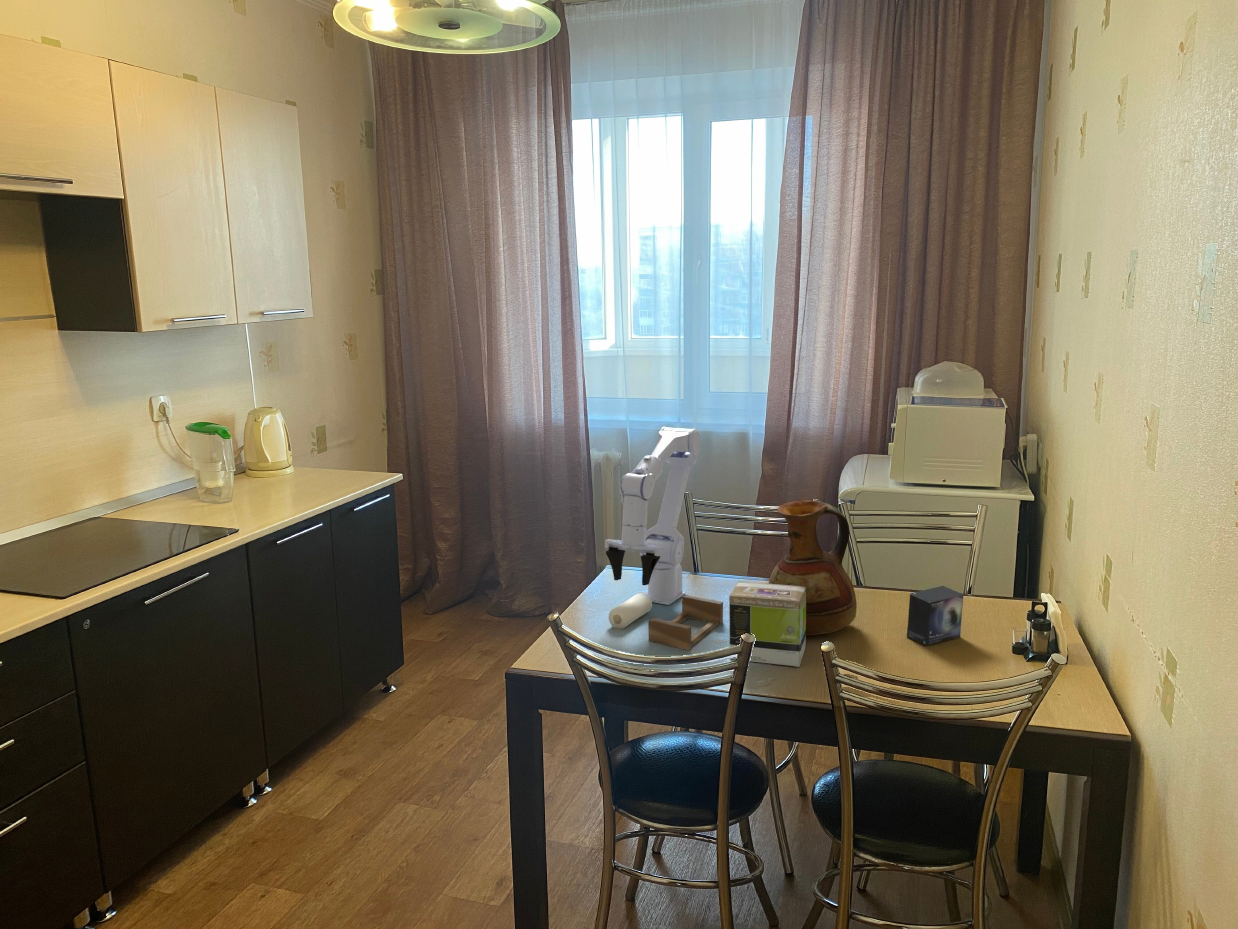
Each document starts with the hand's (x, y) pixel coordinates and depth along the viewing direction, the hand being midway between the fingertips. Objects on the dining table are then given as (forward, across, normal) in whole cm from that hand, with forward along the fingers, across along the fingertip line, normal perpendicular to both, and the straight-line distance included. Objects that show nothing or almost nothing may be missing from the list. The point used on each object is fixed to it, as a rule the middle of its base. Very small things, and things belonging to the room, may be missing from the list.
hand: (631, 582), depth 211 cm
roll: (+7, -1, +2) cm, 8 cm away
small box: (+7, +64, +25) cm, 69 cm away
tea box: (+11, +35, -1) cm, 37 cm away
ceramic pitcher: (+8, +38, +18) cm, 43 cm away
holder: (+10, +14, +2) cm, 17 cm away
